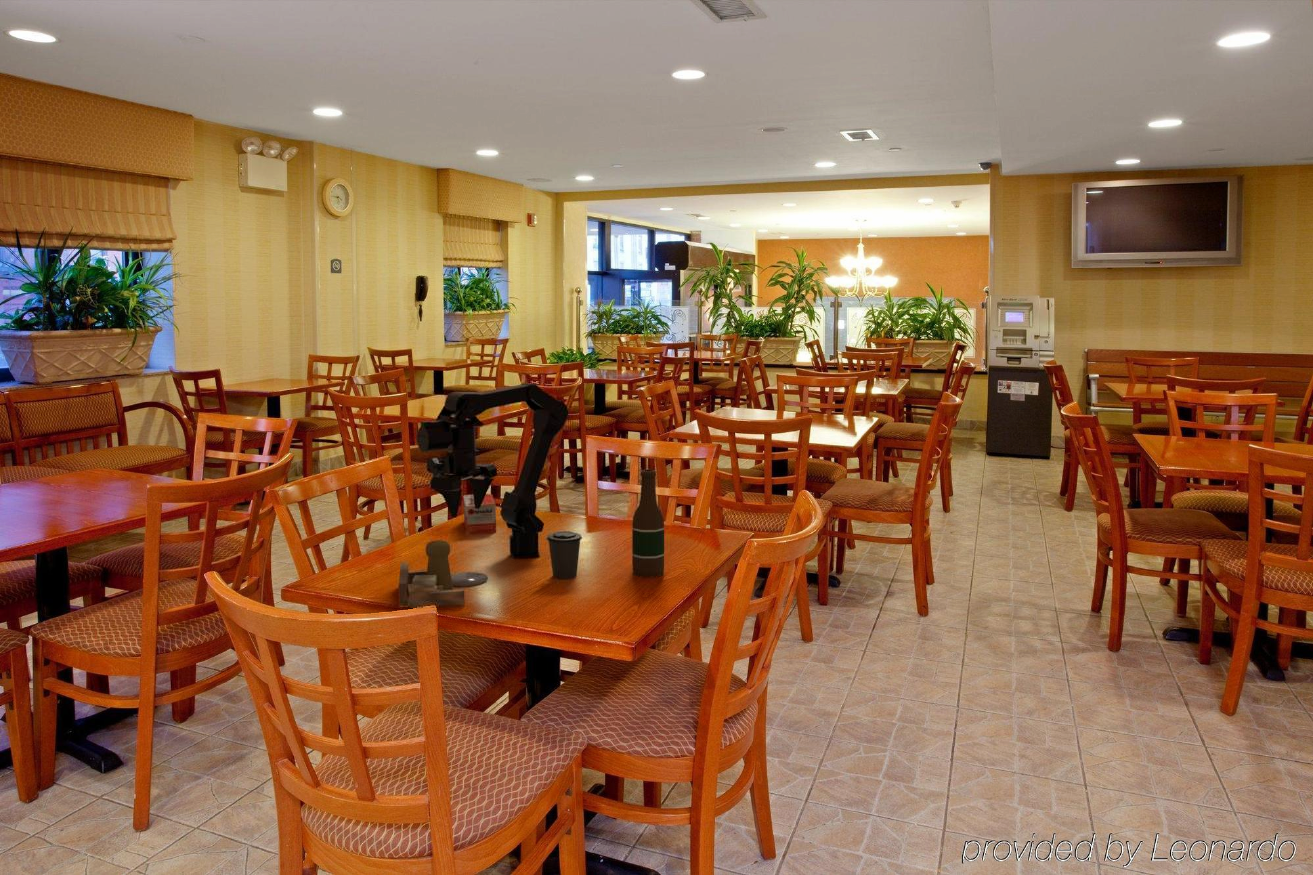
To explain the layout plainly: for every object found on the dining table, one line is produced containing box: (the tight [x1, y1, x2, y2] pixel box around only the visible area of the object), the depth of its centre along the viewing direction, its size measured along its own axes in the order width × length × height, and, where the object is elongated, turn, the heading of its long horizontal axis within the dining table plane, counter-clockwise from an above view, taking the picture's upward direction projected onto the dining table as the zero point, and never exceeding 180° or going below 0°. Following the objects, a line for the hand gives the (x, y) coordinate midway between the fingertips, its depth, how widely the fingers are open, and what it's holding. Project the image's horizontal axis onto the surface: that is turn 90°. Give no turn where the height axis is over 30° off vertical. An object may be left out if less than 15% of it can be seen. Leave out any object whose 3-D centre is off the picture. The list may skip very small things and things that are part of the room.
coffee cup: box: [546, 530, 583, 580], centre depth 217 cm, size 8×8×10 cm
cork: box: [425, 539, 454, 590], centre depth 206 cm, size 6×6×11 cm
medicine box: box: [463, 493, 497, 535], centre depth 264 cm, size 15×8×8 cm, turn 14°
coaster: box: [451, 571, 489, 588], centre depth 214 cm, size 10×10×1 cm
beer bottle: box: [631, 469, 665, 578], centre depth 219 cm, size 8×8×24 cm
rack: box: [398, 561, 466, 609], centre depth 204 cm, size 13×17×5 cm
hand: (466, 512), depth 223 cm, fingers open, 9 cm apart
